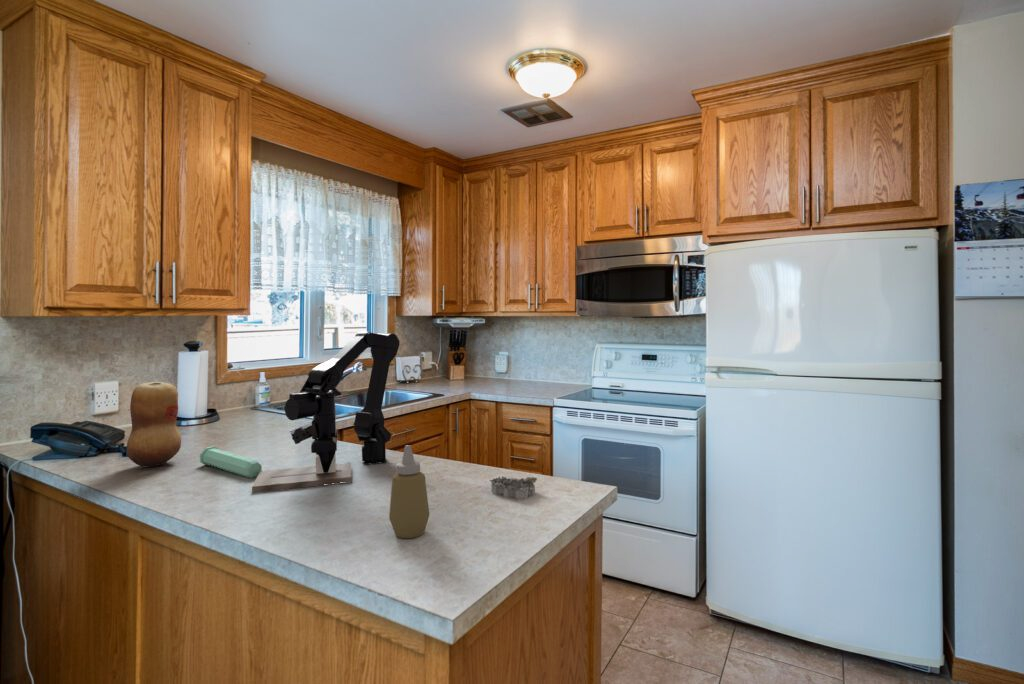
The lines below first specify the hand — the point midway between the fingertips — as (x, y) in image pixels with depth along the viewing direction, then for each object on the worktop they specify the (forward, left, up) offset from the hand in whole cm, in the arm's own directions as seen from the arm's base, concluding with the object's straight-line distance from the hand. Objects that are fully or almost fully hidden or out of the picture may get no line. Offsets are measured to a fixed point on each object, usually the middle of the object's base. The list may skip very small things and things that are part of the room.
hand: (326, 470), depth 144 cm
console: (+5, 0, -2) cm, 6 cm away
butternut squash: (+49, -30, -2) cm, 58 cm away
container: (+26, -16, -2) cm, 31 cm away
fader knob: (0, 0, 0) cm, 0 cm away
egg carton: (-45, +29, -2) cm, 53 cm away
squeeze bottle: (-18, +45, -2) cm, 48 cm away
